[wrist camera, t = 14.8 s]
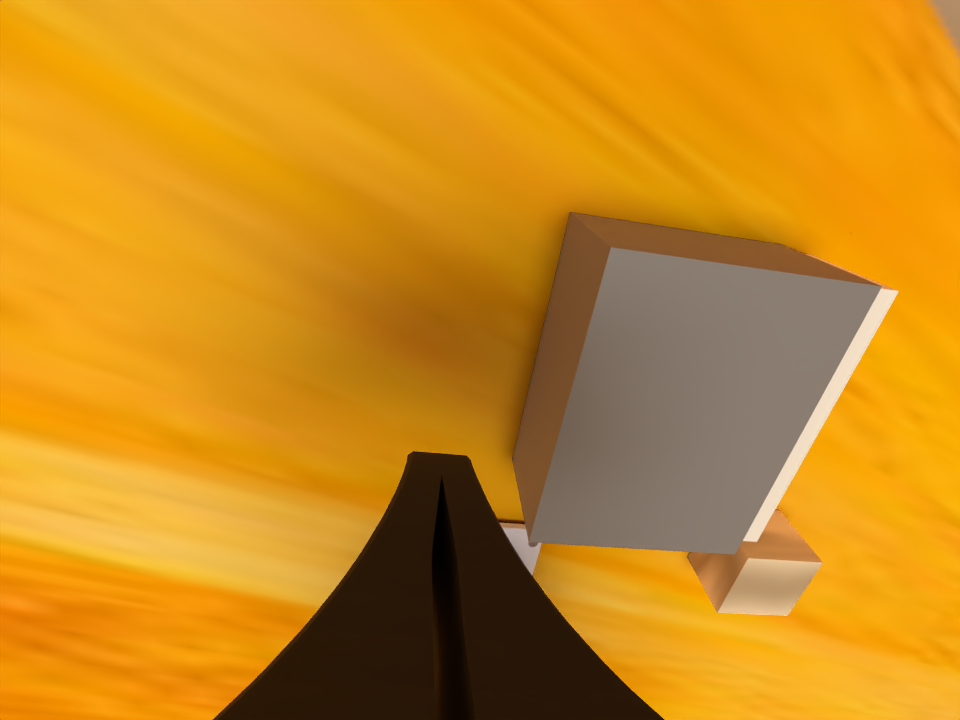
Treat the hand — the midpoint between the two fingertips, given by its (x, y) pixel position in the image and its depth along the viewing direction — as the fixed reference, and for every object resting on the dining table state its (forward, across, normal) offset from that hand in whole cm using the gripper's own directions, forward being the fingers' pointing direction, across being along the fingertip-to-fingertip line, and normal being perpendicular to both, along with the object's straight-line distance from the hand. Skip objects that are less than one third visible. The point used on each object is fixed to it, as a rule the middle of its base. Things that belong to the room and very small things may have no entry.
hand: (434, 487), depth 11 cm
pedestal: (+10, -18, +11) cm, 24 cm away
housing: (+10, -10, +1) cm, 14 cm away
